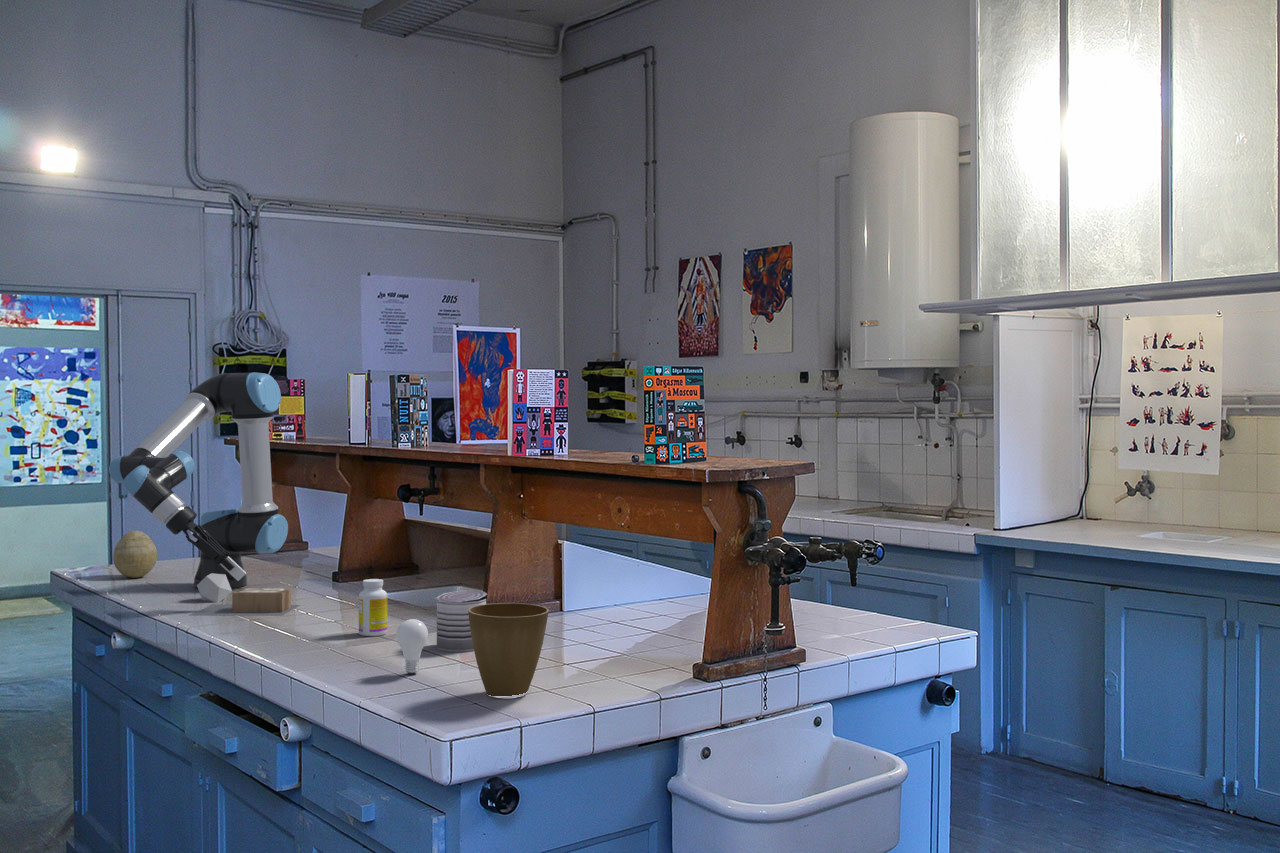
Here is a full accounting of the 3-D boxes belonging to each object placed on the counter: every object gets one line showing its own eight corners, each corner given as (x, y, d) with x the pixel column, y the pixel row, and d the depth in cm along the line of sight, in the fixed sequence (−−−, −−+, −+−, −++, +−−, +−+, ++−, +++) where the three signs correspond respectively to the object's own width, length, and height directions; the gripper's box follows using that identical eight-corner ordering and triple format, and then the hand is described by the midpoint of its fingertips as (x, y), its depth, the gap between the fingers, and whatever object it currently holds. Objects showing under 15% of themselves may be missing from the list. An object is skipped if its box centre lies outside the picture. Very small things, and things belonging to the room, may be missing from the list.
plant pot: (481, 708, 191) (481, 618, 191) (458, 689, 205) (458, 605, 205) (559, 699, 198) (560, 612, 198) (532, 681, 211) (532, 600, 211)
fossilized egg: (145, 580, 338) (145, 533, 337) (105, 580, 338) (105, 532, 338) (164, 575, 350) (164, 528, 350) (125, 574, 350) (125, 528, 350)
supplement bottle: (392, 632, 259) (393, 579, 259) (377, 637, 252) (377, 583, 252) (368, 630, 261) (369, 577, 261) (352, 635, 255) (353, 581, 254)
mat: (212, 606, 293) (212, 604, 293) (301, 606, 293) (301, 604, 293) (188, 617, 277) (188, 615, 277) (282, 617, 277) (282, 615, 277)
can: (494, 648, 241) (495, 595, 241) (447, 654, 235) (447, 599, 235) (474, 639, 251) (474, 588, 251) (427, 645, 245) (428, 592, 245)
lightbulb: (398, 670, 220) (398, 616, 220) (429, 670, 220) (430, 616, 220) (393, 677, 213) (393, 622, 213) (426, 677, 214) (426, 622, 214)
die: (238, 603, 302) (232, 573, 306) (225, 592, 294) (219, 562, 299) (209, 614, 301) (204, 584, 305) (196, 603, 293) (190, 573, 298)
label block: (241, 588, 288) (290, 588, 289) (241, 607, 288) (290, 607, 289) (232, 592, 281) (282, 592, 282) (232, 612, 281) (282, 612, 282)
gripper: (170, 522, 288) (236, 583, 291) (158, 527, 275) (227, 591, 279) (191, 502, 289) (256, 563, 292) (180, 506, 276) (248, 570, 280)
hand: (242, 577), depth 286 cm, fingers closed
